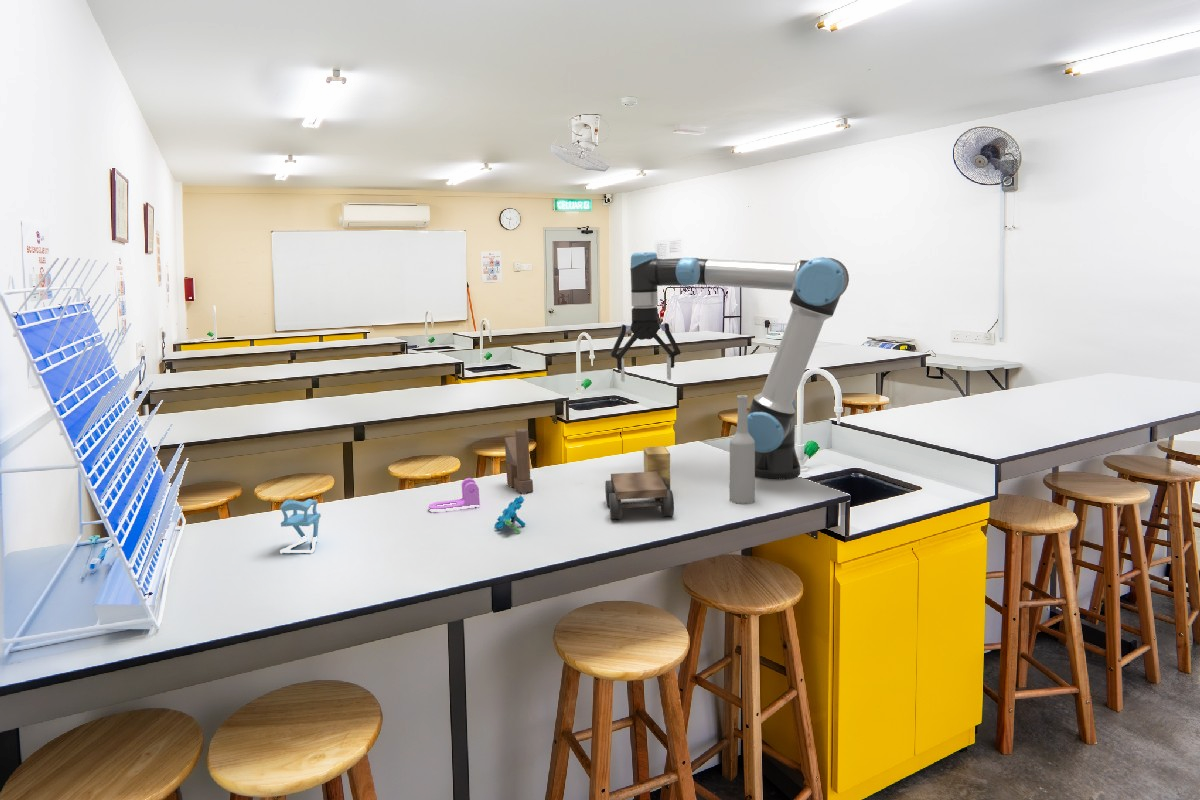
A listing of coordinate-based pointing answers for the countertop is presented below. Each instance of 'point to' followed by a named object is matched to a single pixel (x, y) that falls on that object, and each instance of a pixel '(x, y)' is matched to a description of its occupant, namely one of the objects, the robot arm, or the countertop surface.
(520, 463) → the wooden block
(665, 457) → the block
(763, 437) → the robot arm
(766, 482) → the countertop surface
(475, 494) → the bracket
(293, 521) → the chair
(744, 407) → the bottle
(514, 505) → the gear
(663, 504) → the trolley
